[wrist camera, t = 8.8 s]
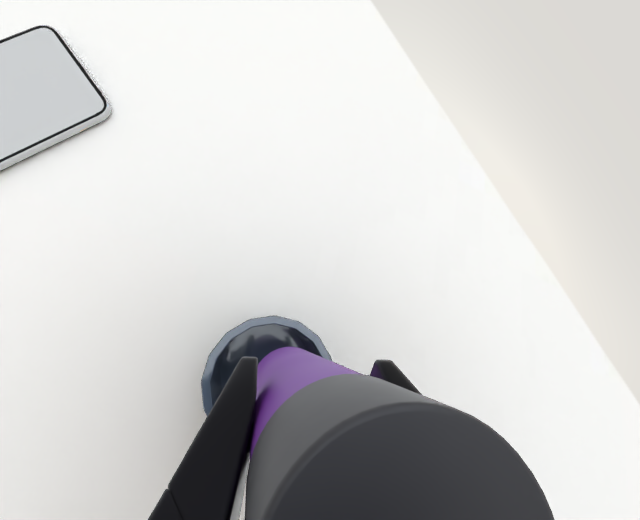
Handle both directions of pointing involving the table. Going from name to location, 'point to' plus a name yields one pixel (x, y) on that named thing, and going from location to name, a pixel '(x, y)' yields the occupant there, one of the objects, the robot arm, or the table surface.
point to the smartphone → (43, 94)
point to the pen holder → (254, 350)
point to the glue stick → (374, 452)
